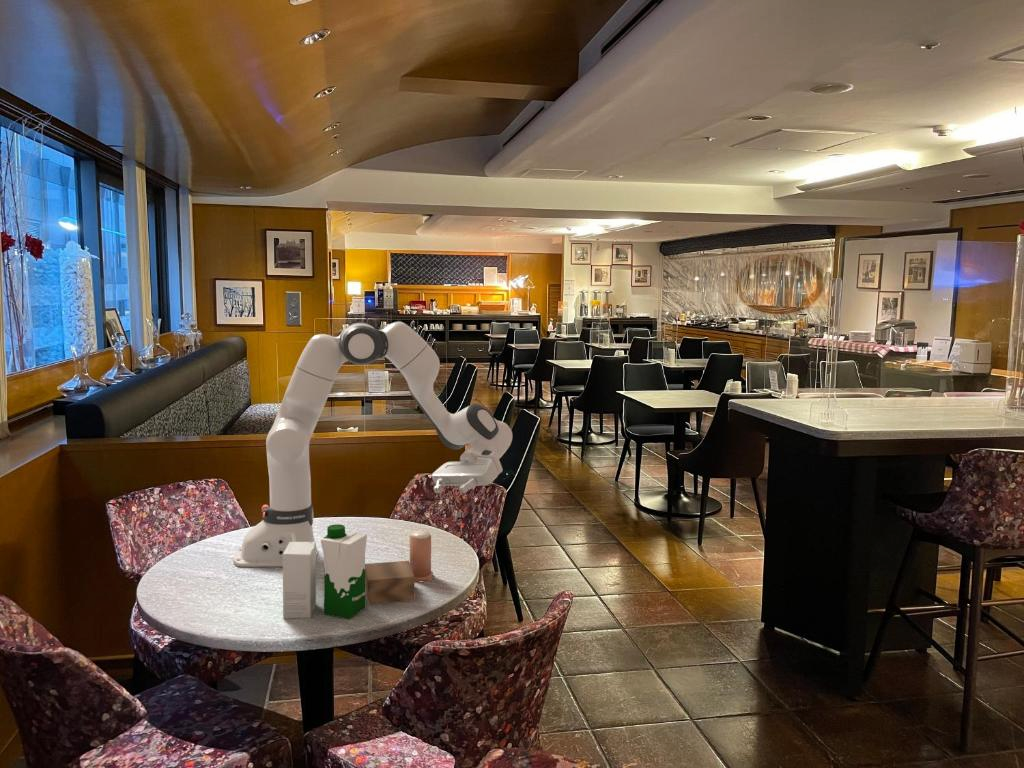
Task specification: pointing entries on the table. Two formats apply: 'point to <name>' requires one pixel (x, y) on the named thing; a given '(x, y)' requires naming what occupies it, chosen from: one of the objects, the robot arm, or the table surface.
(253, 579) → the table surface
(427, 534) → the canister
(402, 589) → the block
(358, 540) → the milk carton
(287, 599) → the skincare box
